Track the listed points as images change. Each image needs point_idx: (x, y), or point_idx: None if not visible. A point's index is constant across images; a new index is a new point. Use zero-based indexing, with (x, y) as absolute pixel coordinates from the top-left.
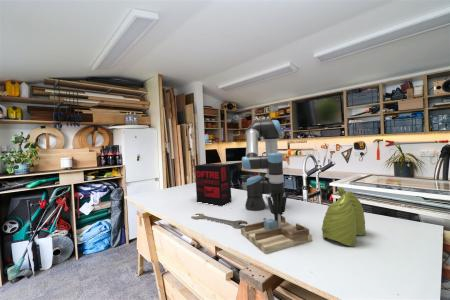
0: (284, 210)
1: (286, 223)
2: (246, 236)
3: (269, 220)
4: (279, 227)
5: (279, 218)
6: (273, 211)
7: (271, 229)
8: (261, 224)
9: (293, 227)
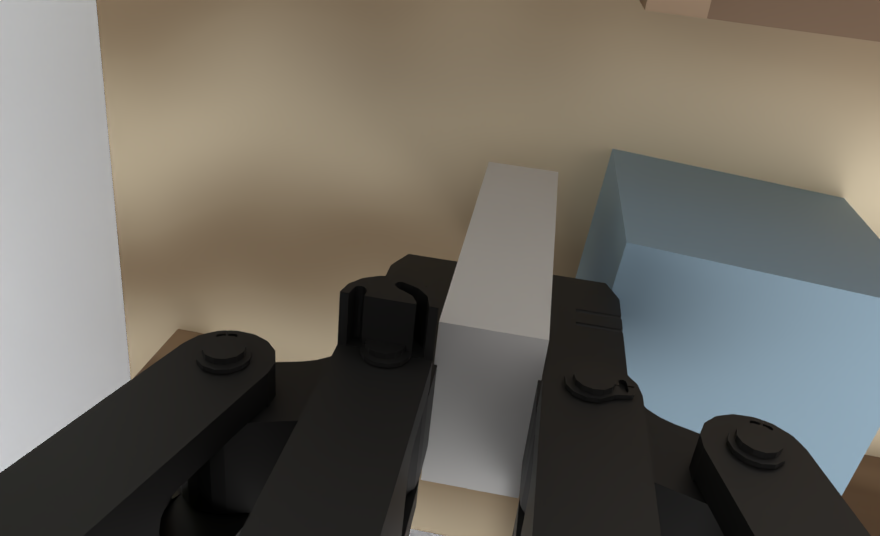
0: (175, 367)
1: (181, 292)
2: None
3: None
4: (443, 243)
5: (512, 264)
6: (823, 524)
7: (791, 203)
8: None
9: (183, 51)
